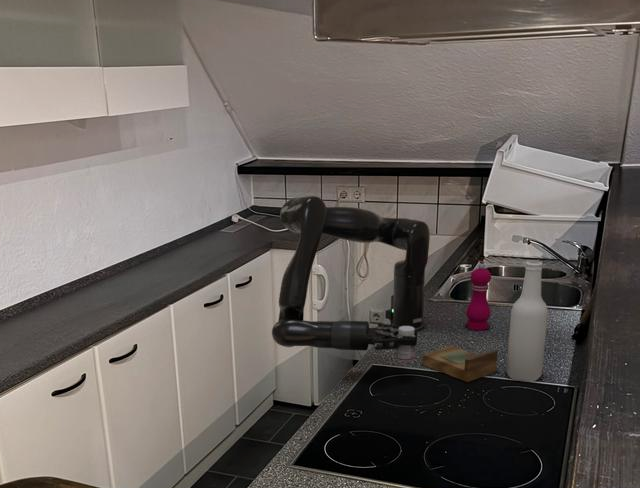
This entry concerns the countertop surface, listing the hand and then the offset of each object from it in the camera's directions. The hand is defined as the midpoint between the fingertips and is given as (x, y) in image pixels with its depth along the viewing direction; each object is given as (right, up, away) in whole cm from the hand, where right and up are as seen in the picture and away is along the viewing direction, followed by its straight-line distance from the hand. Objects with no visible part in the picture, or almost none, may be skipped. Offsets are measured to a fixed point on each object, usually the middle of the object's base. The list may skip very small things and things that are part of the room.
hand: (416, 337), depth 194 cm
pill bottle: (-2, -6, +3) cm, 7 cm away
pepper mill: (+26, +5, +41) cm, 49 cm away
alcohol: (+28, -10, +4) cm, 30 cm away
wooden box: (+13, -8, +10) cm, 18 cm away
